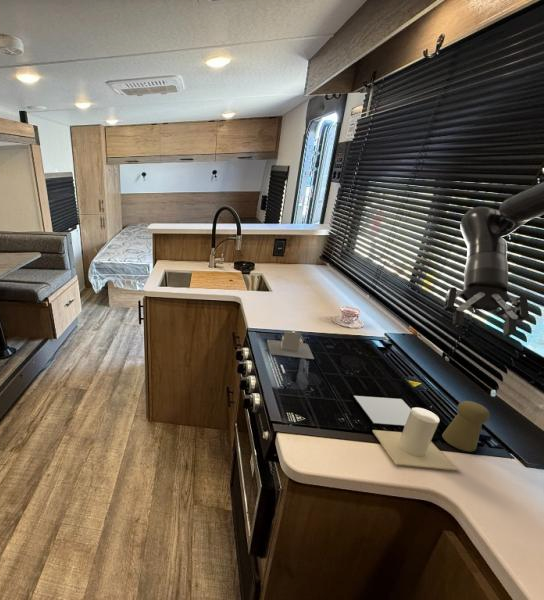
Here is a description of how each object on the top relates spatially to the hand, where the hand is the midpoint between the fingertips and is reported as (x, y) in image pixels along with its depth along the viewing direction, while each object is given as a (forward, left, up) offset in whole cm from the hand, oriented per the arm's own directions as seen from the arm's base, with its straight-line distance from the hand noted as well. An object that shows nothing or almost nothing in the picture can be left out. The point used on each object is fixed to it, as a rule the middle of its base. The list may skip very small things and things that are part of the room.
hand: (483, 330), depth 75 cm
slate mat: (+16, +2, -25) cm, 30 cm away
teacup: (+1, -56, -25) cm, 62 cm away
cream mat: (+18, +15, -25) cm, 34 cm away
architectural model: (+33, -30, -25) cm, 51 cm away
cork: (+5, +11, -25) cm, 28 cm away
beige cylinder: (+18, +15, -25) cm, 34 cm away
